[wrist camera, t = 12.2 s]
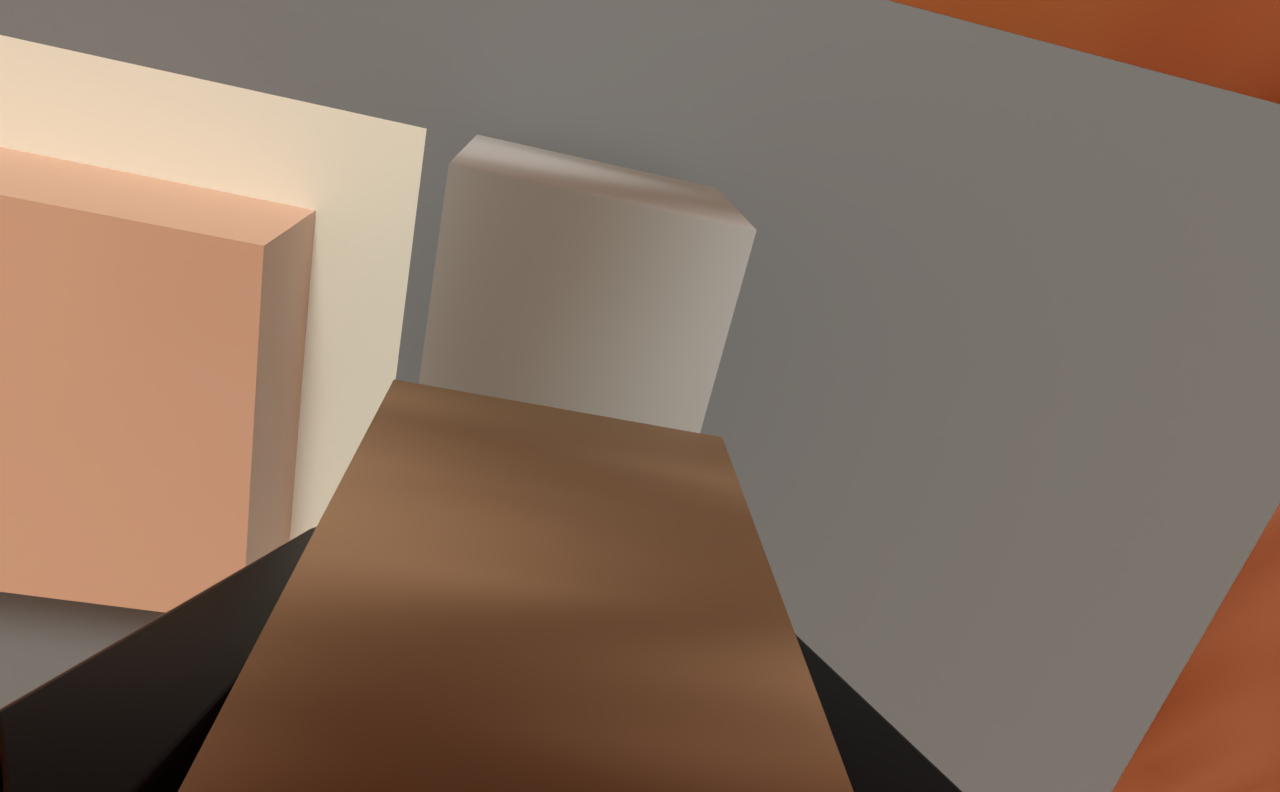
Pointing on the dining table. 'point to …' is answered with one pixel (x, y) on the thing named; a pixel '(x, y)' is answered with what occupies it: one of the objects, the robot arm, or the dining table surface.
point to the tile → (144, 381)
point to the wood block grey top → (541, 528)
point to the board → (790, 306)
